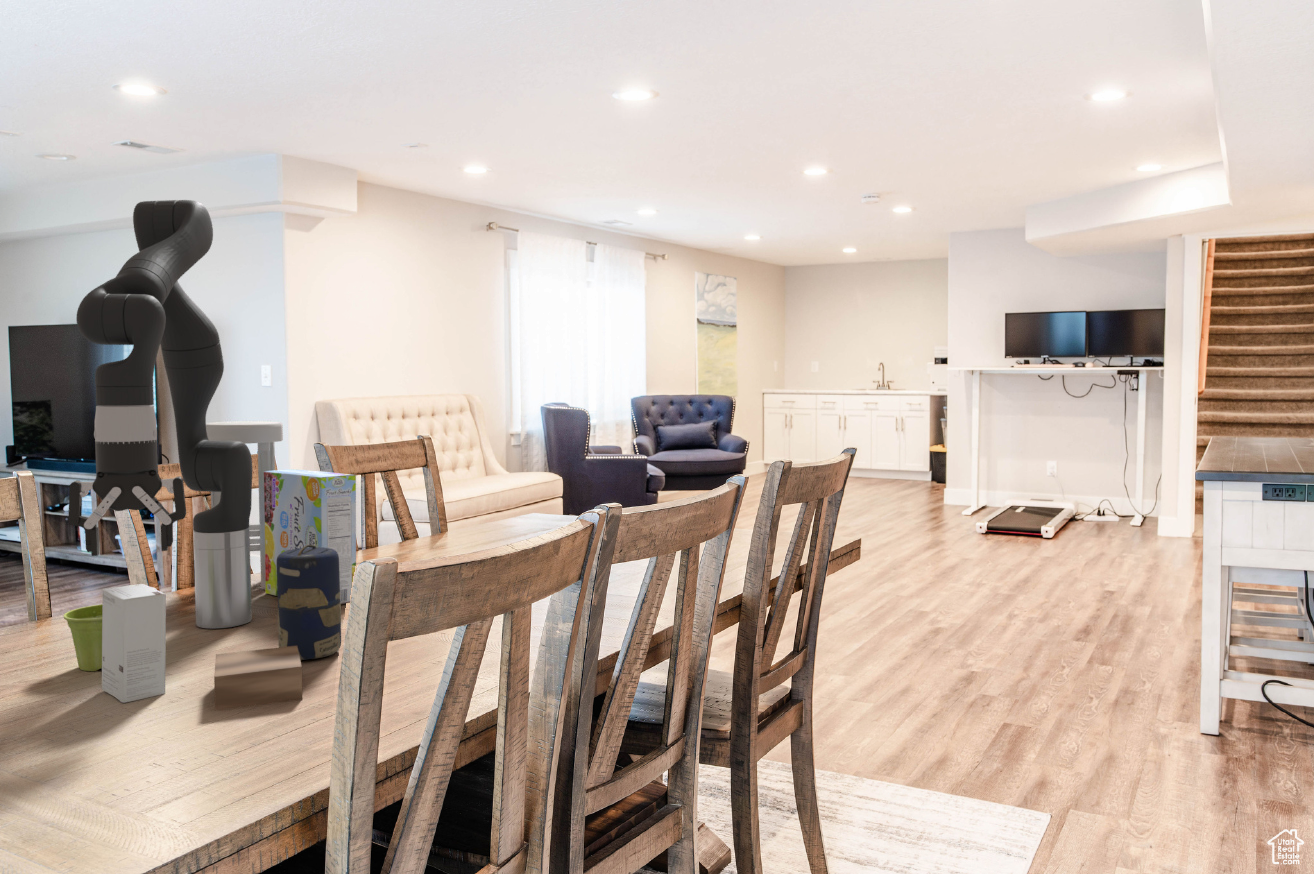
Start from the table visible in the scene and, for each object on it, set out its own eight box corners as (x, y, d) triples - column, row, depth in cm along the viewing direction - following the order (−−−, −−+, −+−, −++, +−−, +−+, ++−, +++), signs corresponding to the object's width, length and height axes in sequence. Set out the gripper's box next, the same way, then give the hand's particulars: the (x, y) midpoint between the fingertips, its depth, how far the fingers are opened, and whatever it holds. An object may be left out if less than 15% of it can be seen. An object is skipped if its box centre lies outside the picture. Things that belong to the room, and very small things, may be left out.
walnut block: (216, 688, 135) (216, 654, 135) (297, 678, 139) (297, 645, 139) (215, 713, 125) (214, 676, 125) (302, 701, 129) (301, 666, 129)
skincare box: (101, 691, 132) (97, 588, 131) (146, 680, 137) (142, 581, 136) (124, 705, 127) (120, 597, 126) (170, 693, 132) (167, 590, 131)
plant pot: (104, 677, 138) (102, 620, 138) (50, 673, 140) (48, 616, 140) (150, 658, 148) (148, 605, 147) (99, 655, 150) (97, 602, 149)
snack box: (361, 601, 185) (358, 473, 184) (321, 610, 178) (319, 477, 177) (301, 586, 199) (298, 466, 197) (262, 593, 192) (259, 470, 190)
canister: (354, 649, 153) (352, 541, 152) (315, 666, 144) (312, 551, 143) (306, 644, 156) (304, 538, 155) (265, 660, 147) (262, 547, 146)
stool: (281, 590, 195) (278, 424, 193) (200, 595, 190) (195, 424, 188) (288, 575, 210) (284, 420, 207) (213, 579, 205) (208, 421, 203)
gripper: (184, 435, 136) (188, 544, 137) (71, 437, 130) (75, 551, 131) (182, 438, 129) (185, 553, 130) (61, 440, 123) (66, 561, 124)
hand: (130, 552), depth 131 cm, fingers open, 8 cm apart
